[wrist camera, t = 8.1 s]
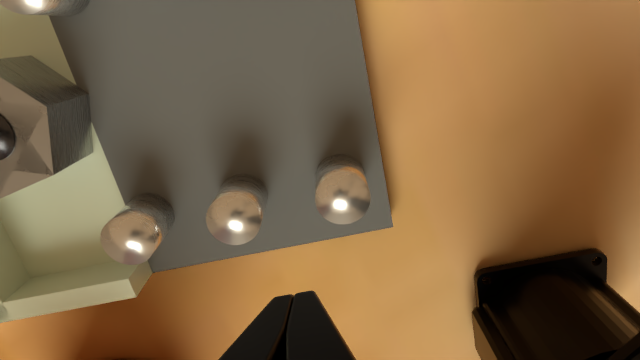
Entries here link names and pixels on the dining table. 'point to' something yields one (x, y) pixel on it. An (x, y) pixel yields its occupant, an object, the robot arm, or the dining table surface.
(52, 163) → the steel nut
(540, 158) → the dining table surface
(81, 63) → the mat
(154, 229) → the standoffs
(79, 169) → the parts tray
